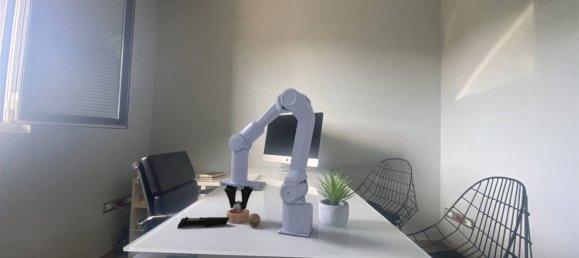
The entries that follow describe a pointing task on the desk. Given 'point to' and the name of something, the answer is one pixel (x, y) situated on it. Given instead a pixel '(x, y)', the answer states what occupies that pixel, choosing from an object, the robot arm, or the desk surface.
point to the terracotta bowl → (237, 216)
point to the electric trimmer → (203, 221)
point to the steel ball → (237, 206)
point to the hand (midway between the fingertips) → (238, 208)
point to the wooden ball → (254, 220)
